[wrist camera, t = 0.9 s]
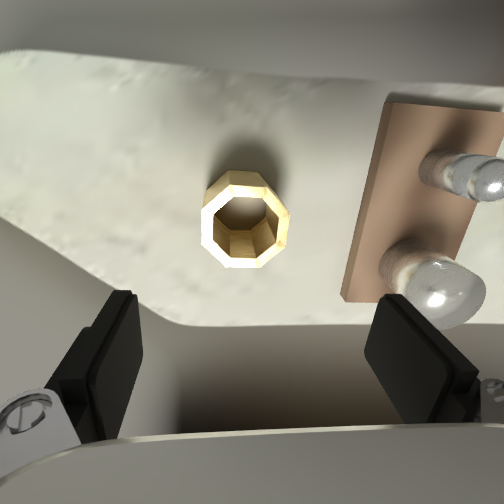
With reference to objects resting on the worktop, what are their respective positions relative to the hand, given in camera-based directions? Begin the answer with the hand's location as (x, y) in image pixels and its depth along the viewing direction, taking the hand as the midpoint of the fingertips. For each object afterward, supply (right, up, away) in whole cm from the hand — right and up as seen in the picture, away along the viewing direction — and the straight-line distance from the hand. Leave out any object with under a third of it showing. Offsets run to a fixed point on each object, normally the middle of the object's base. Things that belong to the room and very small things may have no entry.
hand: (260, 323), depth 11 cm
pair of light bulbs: (+15, +5, +15) cm, 22 cm away
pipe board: (+15, +6, +17) cm, 23 cm away
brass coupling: (-1, +7, +15) cm, 16 cm away
